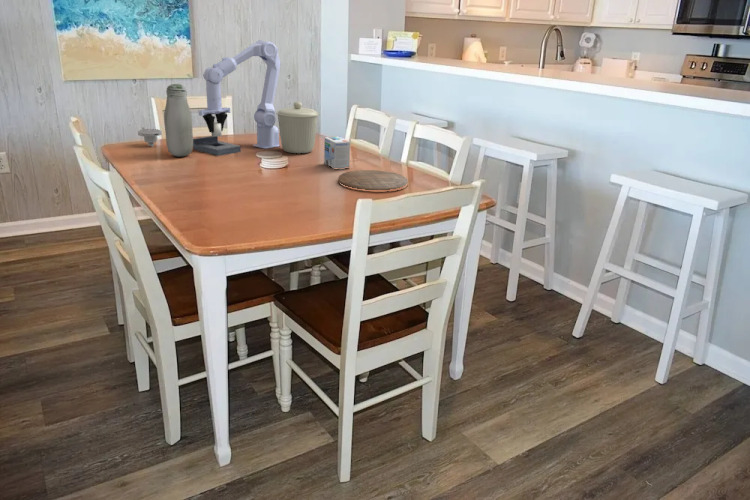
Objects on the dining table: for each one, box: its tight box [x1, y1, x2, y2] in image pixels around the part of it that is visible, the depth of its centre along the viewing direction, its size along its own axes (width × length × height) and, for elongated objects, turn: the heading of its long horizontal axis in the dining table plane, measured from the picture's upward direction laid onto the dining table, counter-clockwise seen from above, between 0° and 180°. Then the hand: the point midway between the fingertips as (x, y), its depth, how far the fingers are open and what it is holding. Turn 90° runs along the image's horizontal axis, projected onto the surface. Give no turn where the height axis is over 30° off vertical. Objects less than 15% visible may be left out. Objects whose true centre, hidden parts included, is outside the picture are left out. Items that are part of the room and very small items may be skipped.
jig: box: [192, 135, 242, 157], centre depth 243 cm, size 12×16×4 cm
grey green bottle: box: [163, 83, 194, 158], centre depth 226 cm, size 10×10×28 cm
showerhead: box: [137, 126, 163, 147], centre depth 244 cm, size 9×7×10 cm
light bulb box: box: [323, 136, 351, 168], centre depth 226 cm, size 11×7×11 cm, turn 27°
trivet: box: [337, 169, 409, 190], centre depth 207 cm, size 25×25×2 cm
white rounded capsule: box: [211, 122, 223, 137], centre depth 240 cm, size 4×4×5 cm
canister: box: [275, 101, 320, 155], centre depth 246 cm, size 18×18×21 cm
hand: (215, 131), depth 240 cm, fingers closed on white rounded capsule, 4 cm apart
